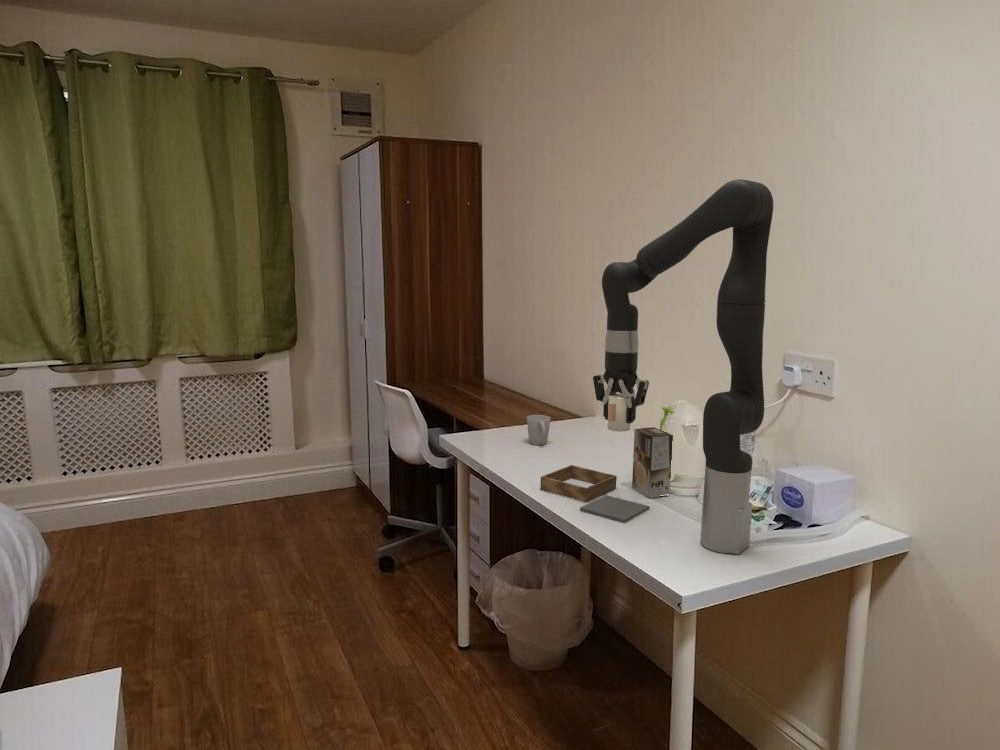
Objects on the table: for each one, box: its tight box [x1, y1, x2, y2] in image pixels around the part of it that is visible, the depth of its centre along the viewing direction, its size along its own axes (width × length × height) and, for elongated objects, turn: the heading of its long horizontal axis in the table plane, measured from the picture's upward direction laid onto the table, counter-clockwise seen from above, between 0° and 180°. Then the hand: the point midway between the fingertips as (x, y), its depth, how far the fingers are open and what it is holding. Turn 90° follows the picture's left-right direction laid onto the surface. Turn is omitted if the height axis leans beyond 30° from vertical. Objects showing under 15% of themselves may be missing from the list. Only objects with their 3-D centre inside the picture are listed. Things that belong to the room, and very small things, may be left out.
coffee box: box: [631, 426, 673, 499], centre depth 184 cm, size 9×6×16 cm
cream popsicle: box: [607, 393, 631, 433], centre depth 167 cm, size 7×5×8 cm
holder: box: [539, 464, 617, 503], centre depth 186 cm, size 14×14×4 cm
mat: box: [579, 494, 650, 524], centre depth 171 cm, size 12×12×1 cm
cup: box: [526, 414, 551, 446], centre depth 229 cm, size 8×10×8 cm
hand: (619, 420), depth 168 cm, fingers closed on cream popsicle, 5 cm apart
